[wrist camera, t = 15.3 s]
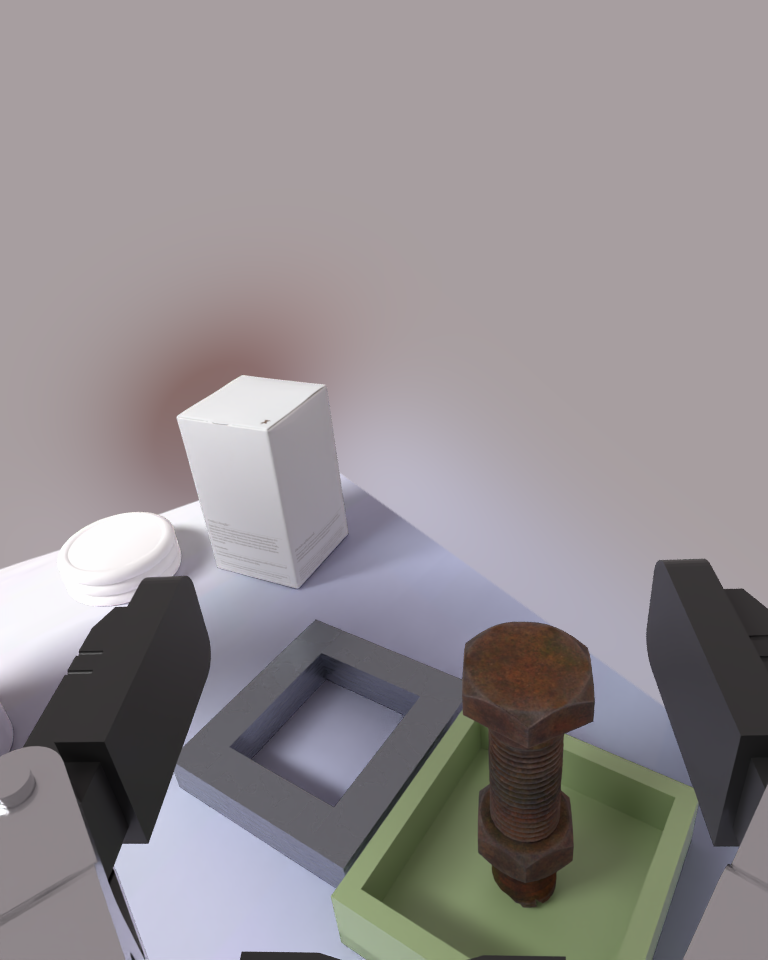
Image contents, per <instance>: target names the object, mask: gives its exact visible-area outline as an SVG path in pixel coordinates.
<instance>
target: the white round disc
mask: <svg viewBox="0 0 768 960" xmlns="http://www.w3.org/2000/svg"><path fill="white" fill-rule="evenodd" d="M57 563H58V569H59V571H60V573H61V574H62V579H63V581H64V583H65V584H66V589H67V591H68V593H69V594H70V595H71V596H72V597H73V598H74V599H75V600H76V601H78V602H80V603H82V604H86V605H91V606H114V605H120V604H125V603H128V602H130V601H131V599H132V597H133V595H134V593H135V592H136V590H137V588H138V586H139V584H140V583H141V581H142V580H143V579H144V578H147V577H170V576H174V574H175V573H176V572H177V570H178V568H179V566H180V563H181V550H180V547H179V546H178V539H177V537H176V536H175V529H174V527H173V525H172V524H171V523H170V522H169V521H168V520H167V519H166V518H164V517H162V516H160V515H157V514H152V513H147V512H130V513H123V514H118V515H114V516H110V517H107V518H104V519H101V520H98V521H96V522H94V523H92V524H90V525H88V526H86V527H84V528H82V529H81V530H80V531H78V532H77V533H75V534H74V535H73V536H72V537H71V538H70V539H68V541H67V542H66V543H65V544H64V545H63V547H62V548H61V550H60V552H59V555H58V561H57Z"/></svg>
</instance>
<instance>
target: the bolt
mask: <svg viewBox="0 0 768 960" xmlns="http://www.w3.org/2000/svg"><path fill="white" fill-rule="evenodd" d="M462 704H463V715H464V716H466V717H468V718H470V719H472V720H474V721H476V722H478V723H480V724H482V725H483V726H485V727H487V728H488V736H489V748H488V754H489V782H490V784H489V785H487V786H486V787H484V788H483V789H482V790H480V791H479V803H478V853H479V854H480V855H481V856H482V857H483V858H484V859H485V860H487V861H488V862H489V863H490V864H491V865H492V874H493V877H494V880H495V882H496V883H497V885H498V886H499V888H500V889H501V890H502V891H503V892H504V893H506V894H507V895H508V896H509V897H510V898H511V899H512V900H513V901H514V902H515V903H518V904H520V905H521V906H522V907H523V908H532V907H537V905H536V903H537V902H536V900H537V901H539V902H541V903H542V904H543V903H544V902H546V901H548V900H549V899H550V897H551V896H552V895H553V893H554V890H555V887H556V880H557V871H559V870H561V869H562V868H563V867H565V866H566V865H568V864H569V863H570V862H572V861H573V850H574V840H573V824H572V812H571V803H570V797H569V796H567V795H566V794H565V793H564V792H563V791H561V780H562V767H563V750H564V749H563V747H564V743H563V741H564V734H565V733H567V732H569V731H572V730H574V729H577V728H579V727H581V726H584V725H586V724H588V723H591V722H593V718H594V704H595V698H594V683H593V675H592V667H591V659H590V654H589V651H588V648H587V647H586V646H585V645H583V644H582V643H581V642H579V641H578V640H577V639H576V638H574V637H573V636H571V635H569V634H568V633H566V632H564V631H562V630H560V629H558V628H556V627H553V626H550V625H547V624H542V623H535V622H508V623H503V624H499V625H496V626H493V627H491V628H488V629H487V630H485V631H483V632H481V633H480V634H478V635H476V636H475V637H474V638H472V639H471V640H470V641H468V642H467V643H466V644H465V649H464V662H463V679H462Z"/></svg>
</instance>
